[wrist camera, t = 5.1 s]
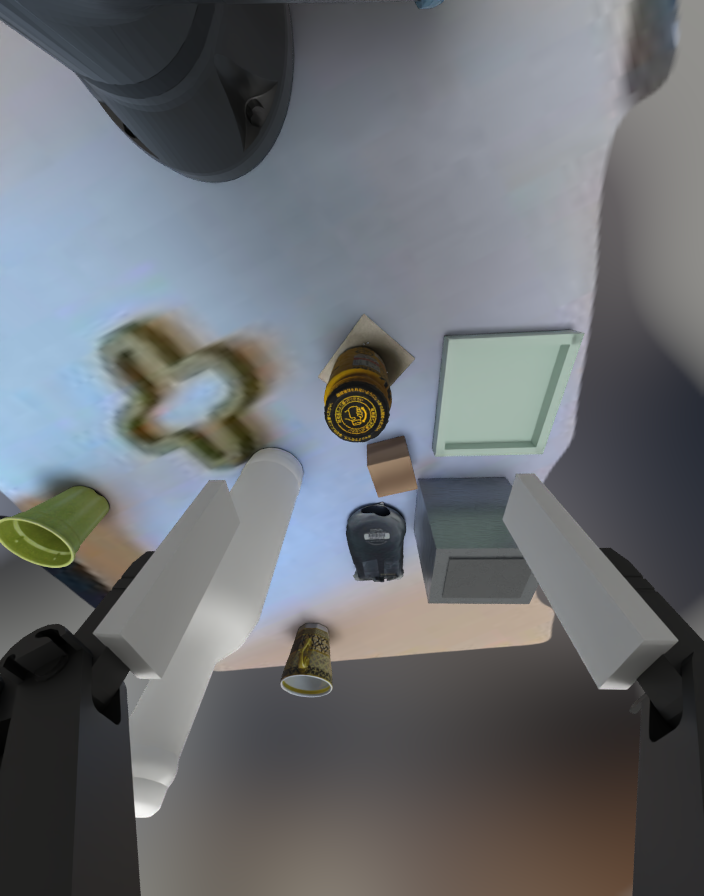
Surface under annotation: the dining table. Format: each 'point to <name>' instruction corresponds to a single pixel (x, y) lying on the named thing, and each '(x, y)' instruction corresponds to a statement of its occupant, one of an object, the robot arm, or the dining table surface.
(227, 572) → the bottle
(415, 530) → the unit
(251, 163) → the robot arm
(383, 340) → the condiment
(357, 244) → the dining table surface
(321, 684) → the ceramic cup
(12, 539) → the plant pot
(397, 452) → the walnut block
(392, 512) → the electronic device
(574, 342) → the tray
